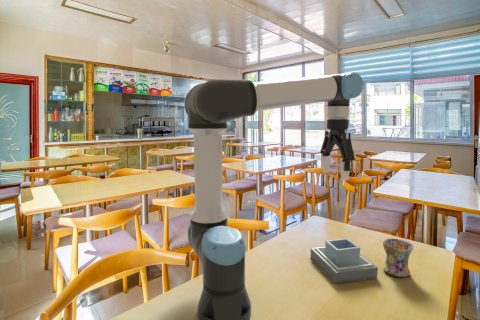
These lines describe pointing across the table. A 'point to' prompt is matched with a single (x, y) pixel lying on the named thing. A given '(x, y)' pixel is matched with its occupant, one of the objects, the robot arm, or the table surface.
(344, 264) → the small crate
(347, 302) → the table surface
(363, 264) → the top crate
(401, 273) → the mug
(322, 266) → the bottom crate
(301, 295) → the table surface
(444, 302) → the table surface
